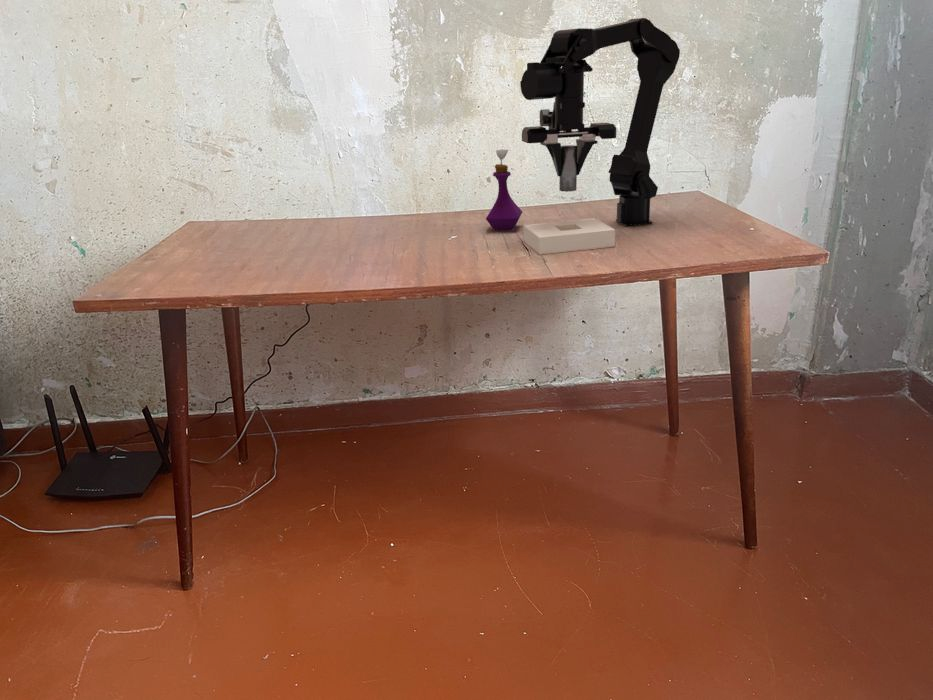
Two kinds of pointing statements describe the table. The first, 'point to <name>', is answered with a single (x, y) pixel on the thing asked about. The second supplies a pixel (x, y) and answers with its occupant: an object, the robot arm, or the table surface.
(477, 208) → the table surface
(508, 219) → the perfume bottle
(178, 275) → the table surface
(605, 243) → the socket board
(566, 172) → the pin
